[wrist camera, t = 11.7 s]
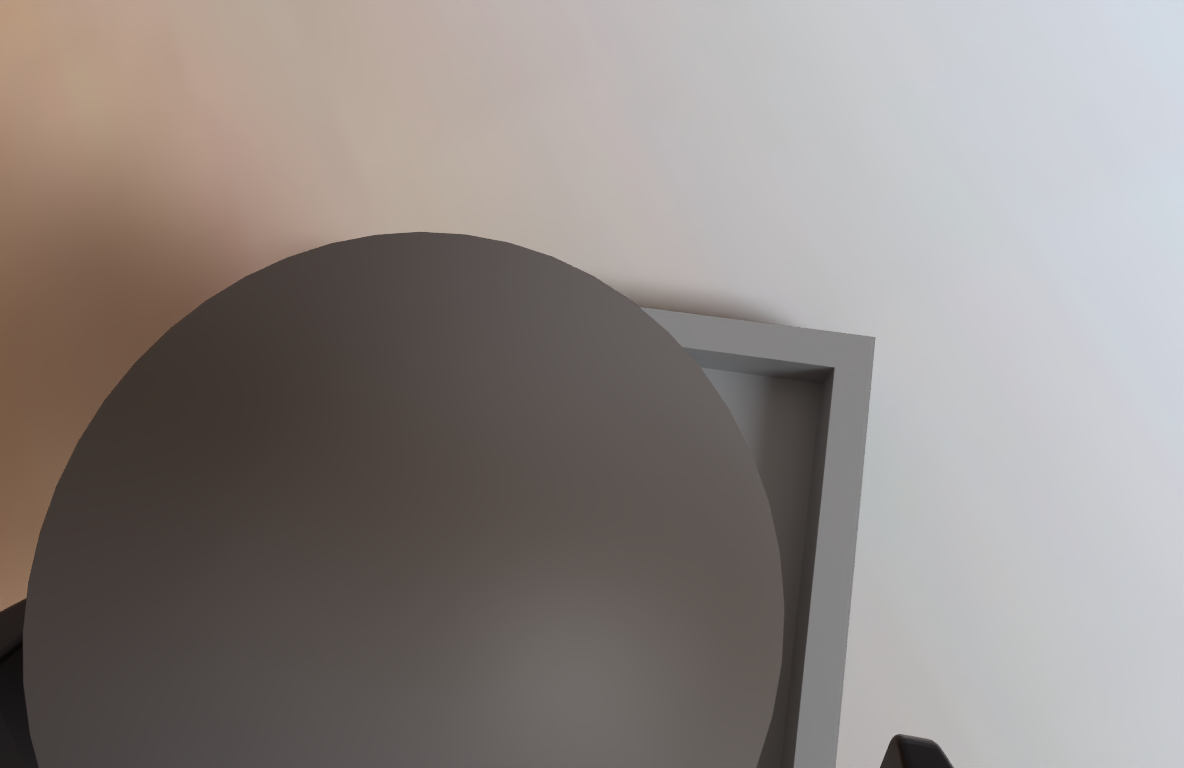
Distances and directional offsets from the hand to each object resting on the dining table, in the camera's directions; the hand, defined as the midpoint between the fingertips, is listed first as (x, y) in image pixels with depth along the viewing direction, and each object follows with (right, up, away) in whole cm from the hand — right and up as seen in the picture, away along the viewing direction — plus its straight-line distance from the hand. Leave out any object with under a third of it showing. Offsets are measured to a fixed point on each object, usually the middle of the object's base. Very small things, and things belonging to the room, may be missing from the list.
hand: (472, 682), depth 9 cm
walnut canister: (+1, -1, +10) cm, 10 cm away
